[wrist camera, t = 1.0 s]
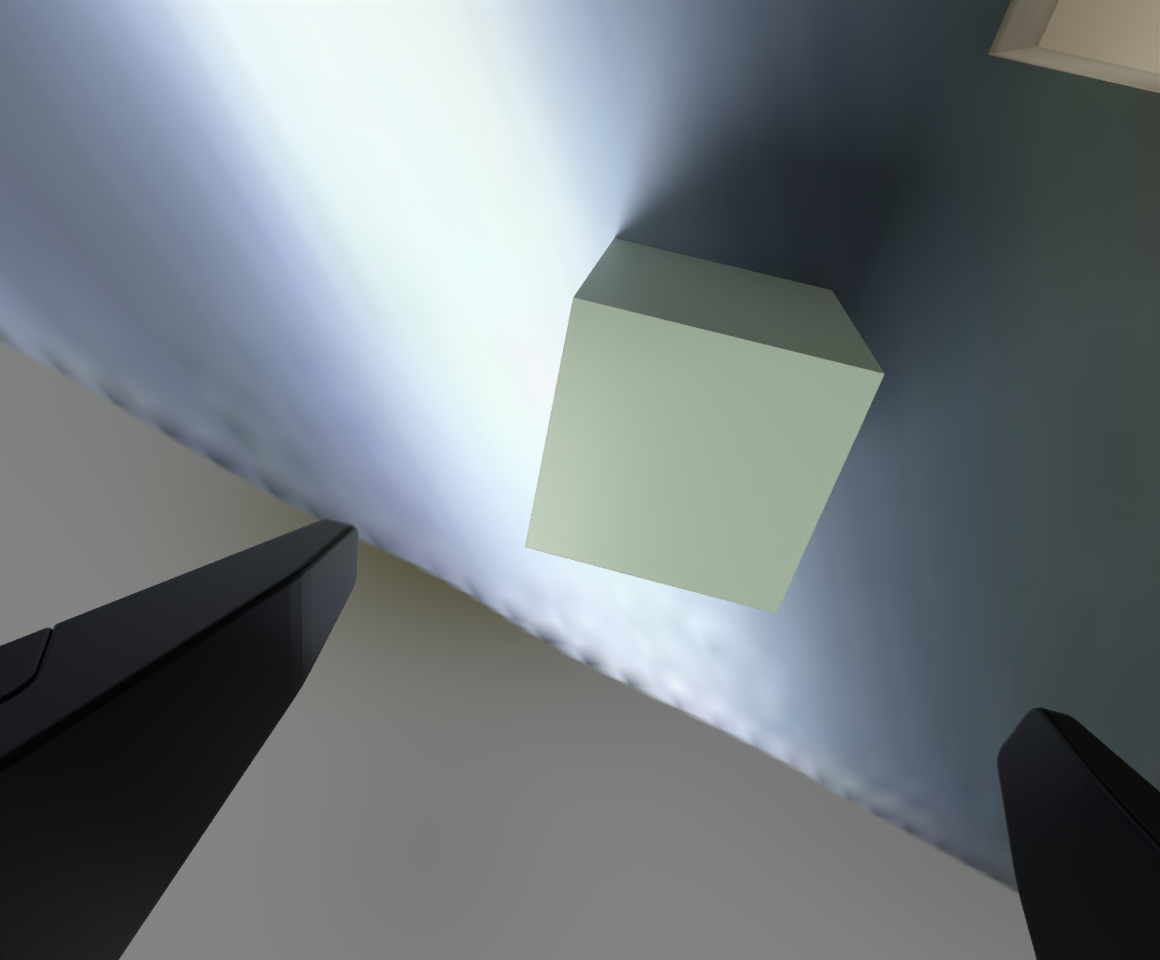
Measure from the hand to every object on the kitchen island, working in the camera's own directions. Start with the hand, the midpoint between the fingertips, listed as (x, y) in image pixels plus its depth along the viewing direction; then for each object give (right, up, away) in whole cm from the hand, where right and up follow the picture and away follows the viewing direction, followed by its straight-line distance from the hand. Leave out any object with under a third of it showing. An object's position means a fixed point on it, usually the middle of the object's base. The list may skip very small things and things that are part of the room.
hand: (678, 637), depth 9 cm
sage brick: (+2, +5, +9) cm, 11 cm away
